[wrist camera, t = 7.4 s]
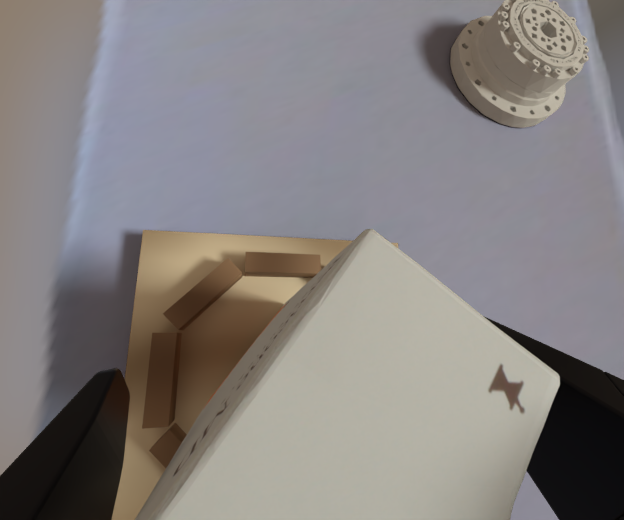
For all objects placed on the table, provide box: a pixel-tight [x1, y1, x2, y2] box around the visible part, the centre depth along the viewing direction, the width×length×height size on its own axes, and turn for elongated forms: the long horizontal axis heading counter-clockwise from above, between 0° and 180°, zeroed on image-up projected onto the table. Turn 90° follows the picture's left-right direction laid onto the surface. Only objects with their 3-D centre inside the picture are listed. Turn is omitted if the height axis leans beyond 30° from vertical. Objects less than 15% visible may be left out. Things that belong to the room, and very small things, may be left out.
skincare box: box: [135, 229, 560, 520], centre depth 10 cm, size 6×4×12 cm
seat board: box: [112, 230, 398, 520], centre depth 15 cm, size 14×14×2 cm
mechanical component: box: [450, 0, 589, 128], centre depth 24 cm, size 10×4×10 cm
